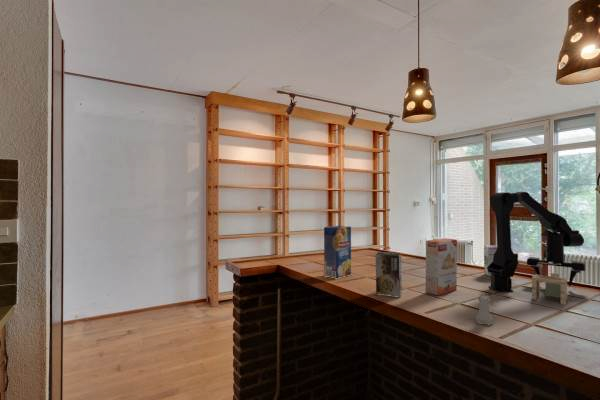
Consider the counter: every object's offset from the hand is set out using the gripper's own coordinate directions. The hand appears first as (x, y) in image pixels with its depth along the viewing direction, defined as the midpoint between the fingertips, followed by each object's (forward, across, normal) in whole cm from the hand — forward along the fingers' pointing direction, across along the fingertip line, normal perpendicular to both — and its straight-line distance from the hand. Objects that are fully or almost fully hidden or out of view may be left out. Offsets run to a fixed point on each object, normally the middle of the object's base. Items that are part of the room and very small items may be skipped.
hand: (555, 284), depth 133 cm
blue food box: (+2, +79, +43) cm, 91 cm away
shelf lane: (+2, 0, +20) cm, 20 cm away
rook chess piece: (+2, +12, +62) cm, 63 cm away
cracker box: (+2, +33, +37) cm, 49 cm away
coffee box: (+2, +46, +55) cm, 72 cm away
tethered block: (+2, 0, +7) cm, 8 cm away
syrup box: (+2, +24, -8) cm, 26 cm away
